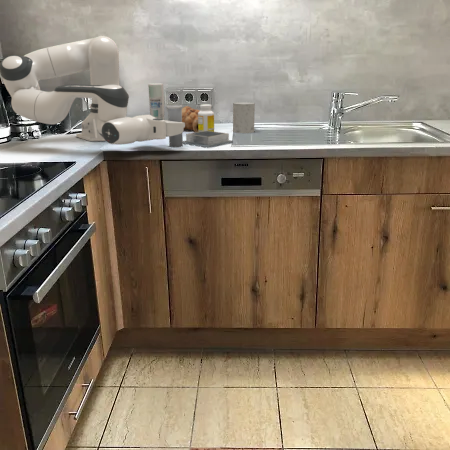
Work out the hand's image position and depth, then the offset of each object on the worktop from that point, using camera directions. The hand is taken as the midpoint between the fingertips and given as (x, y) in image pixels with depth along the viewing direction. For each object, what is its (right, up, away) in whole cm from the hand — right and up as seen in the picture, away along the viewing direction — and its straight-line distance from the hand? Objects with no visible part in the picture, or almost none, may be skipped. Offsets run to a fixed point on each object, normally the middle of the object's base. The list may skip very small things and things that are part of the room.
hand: (174, 123), depth 184 cm
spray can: (-12, +6, +42) cm, 44 cm away
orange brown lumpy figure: (+5, +4, +37) cm, 37 cm away
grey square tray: (+12, -6, +9) cm, 16 cm away
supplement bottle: (+11, -1, +25) cm, 27 cm away
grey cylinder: (+27, +4, +37) cm, 46 cm away
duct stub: (0, -8, +3) cm, 8 cm away
